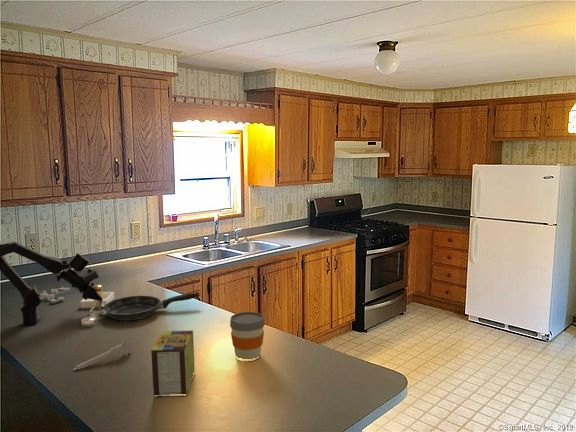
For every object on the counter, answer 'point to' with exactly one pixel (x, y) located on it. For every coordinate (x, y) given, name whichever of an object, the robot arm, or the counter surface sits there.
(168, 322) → the counter surface
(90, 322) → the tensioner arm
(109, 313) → the frying pan
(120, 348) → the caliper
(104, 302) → the parts tray
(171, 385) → the protein box
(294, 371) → the counter surface
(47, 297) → the pulley system
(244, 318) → the reusable coffee cup
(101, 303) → the pin
